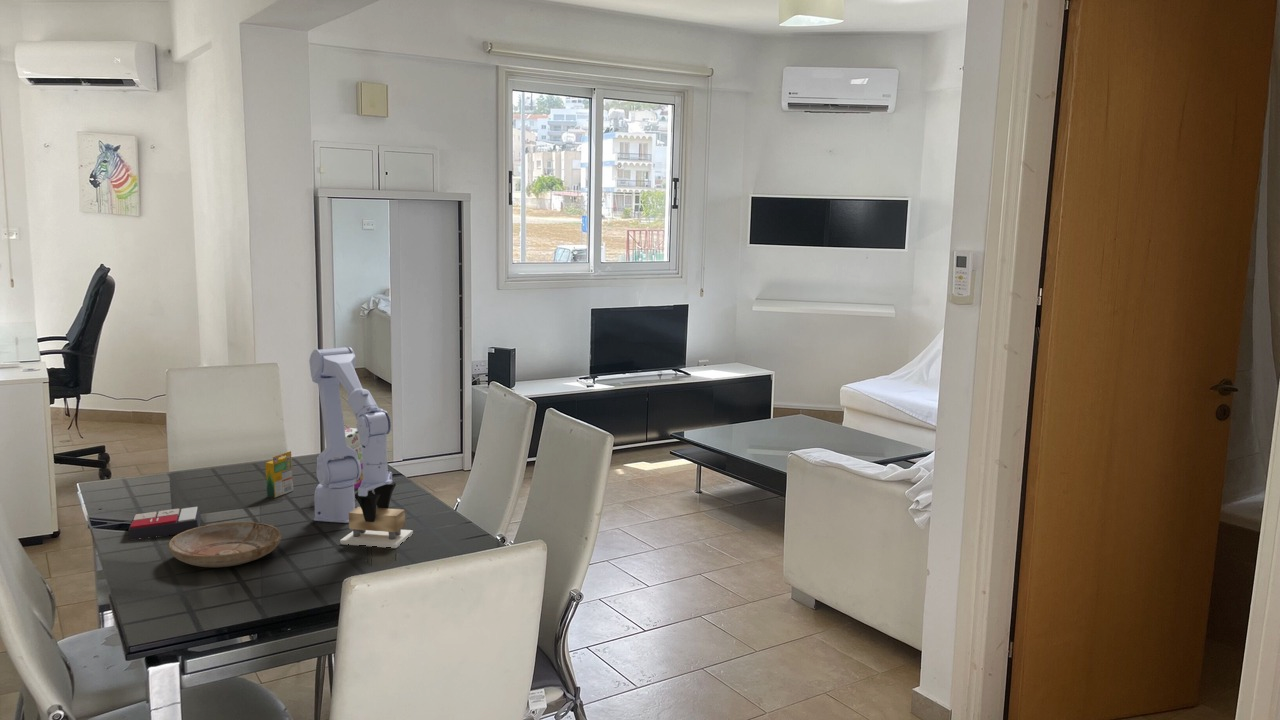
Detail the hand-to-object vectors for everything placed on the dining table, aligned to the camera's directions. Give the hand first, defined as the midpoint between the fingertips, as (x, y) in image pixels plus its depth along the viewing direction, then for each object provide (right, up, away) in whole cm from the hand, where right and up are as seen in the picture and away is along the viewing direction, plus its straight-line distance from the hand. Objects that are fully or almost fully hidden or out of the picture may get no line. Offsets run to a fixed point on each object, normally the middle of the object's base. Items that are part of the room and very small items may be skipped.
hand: (376, 516), depth 227 cm
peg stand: (0, -6, +1) cm, 6 cm away
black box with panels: (-53, -5, +6) cm, 54 cm away
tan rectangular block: (0, -3, 0) cm, 3 cm away
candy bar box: (-20, +1, +42) cm, 46 cm away
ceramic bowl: (-31, -8, -12) cm, 34 cm away
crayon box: (-37, 0, +36) cm, 51 cm away
